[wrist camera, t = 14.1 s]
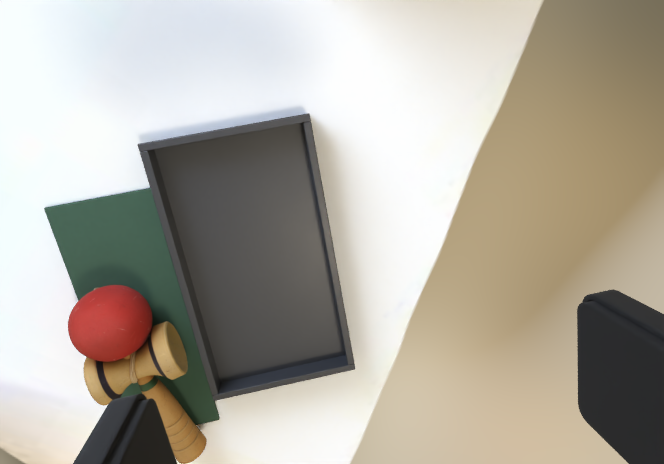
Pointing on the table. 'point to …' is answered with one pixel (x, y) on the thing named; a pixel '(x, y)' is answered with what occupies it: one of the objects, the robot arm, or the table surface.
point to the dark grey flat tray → (252, 253)
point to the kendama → (133, 358)
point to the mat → (133, 275)
